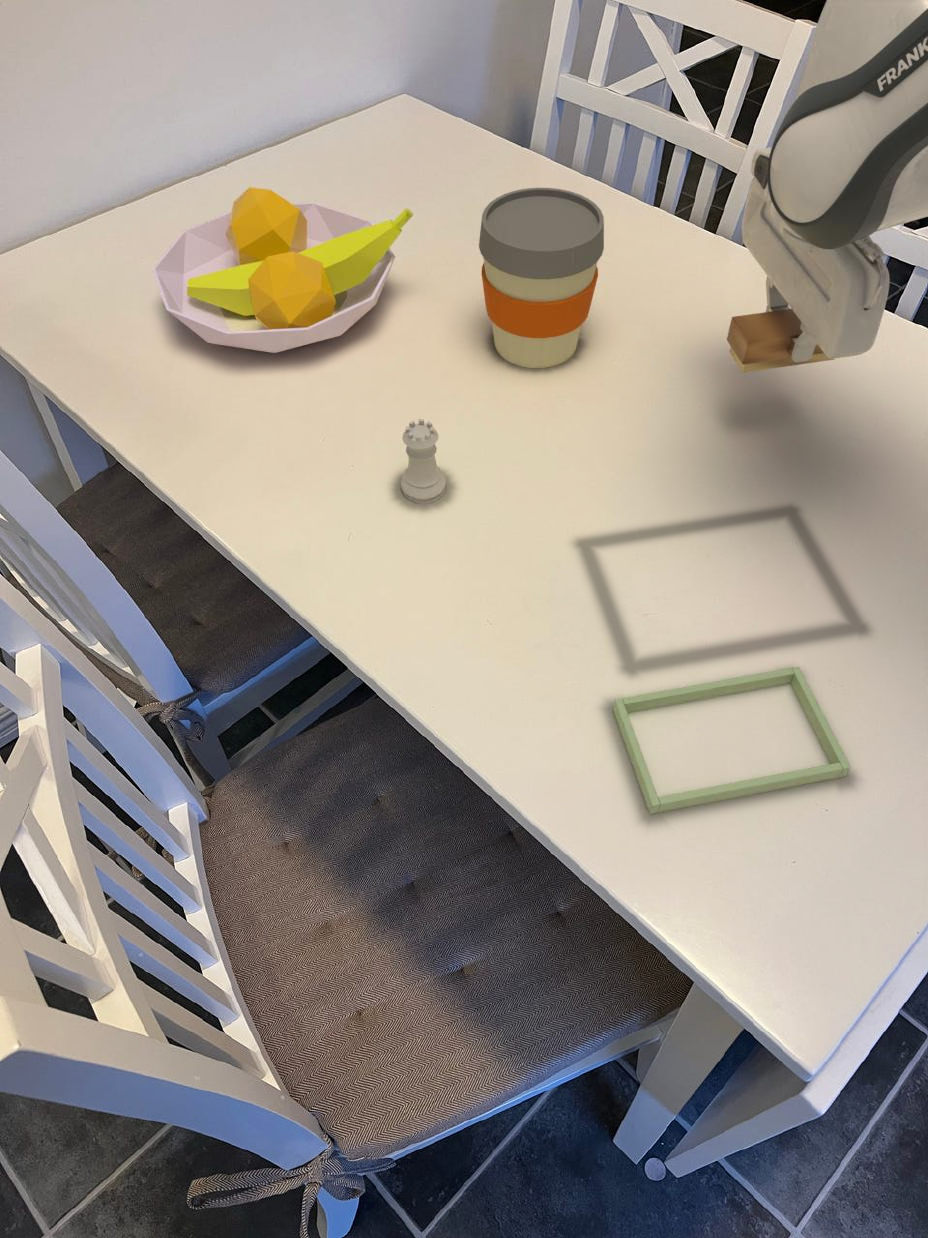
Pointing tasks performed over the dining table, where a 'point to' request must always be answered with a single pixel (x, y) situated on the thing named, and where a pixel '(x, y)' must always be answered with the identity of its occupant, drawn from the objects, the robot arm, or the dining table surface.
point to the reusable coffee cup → (539, 272)
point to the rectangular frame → (742, 788)
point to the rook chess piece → (422, 464)
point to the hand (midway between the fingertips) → (786, 339)
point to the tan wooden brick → (766, 340)
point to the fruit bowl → (277, 271)
